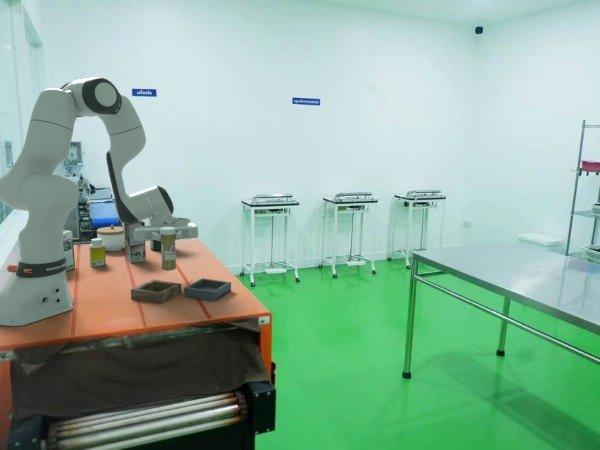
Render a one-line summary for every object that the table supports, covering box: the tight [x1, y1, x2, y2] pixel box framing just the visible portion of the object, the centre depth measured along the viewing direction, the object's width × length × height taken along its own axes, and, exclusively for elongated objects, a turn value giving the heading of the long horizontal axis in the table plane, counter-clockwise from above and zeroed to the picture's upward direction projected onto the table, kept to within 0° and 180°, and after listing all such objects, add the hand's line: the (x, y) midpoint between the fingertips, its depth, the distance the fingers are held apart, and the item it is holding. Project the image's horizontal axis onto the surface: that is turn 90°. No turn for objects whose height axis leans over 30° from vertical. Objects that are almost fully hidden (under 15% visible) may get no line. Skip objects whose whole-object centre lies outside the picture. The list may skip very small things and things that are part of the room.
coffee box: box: [122, 220, 147, 264], centre depth 183 cm, size 9×6×16 cm
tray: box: [183, 277, 232, 303], centre depth 147 cm, size 11×11×3 cm
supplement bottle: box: [88, 237, 107, 267], centre depth 175 cm, size 6×6×10 cm
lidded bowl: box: [96, 224, 125, 252], centre depth 200 cm, size 13×13×11 cm
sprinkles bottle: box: [160, 227, 177, 272], centre depth 143 cm, size 5×5×14 cm
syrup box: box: [63, 229, 76, 272], centre depth 168 cm, size 6×6×14 cm
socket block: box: [130, 279, 182, 304], centre depth 144 cm, size 11×11×3 cm
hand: (168, 237), depth 141 cm, fingers closed on sprinkles bottle, 4 cm apart
